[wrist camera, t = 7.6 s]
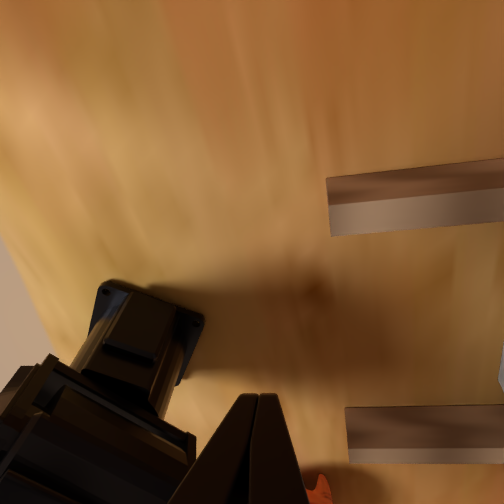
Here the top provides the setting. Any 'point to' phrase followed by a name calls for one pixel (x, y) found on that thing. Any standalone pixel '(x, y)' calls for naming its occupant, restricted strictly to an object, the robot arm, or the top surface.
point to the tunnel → (406, 218)
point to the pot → (320, 492)
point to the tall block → (501, 371)
